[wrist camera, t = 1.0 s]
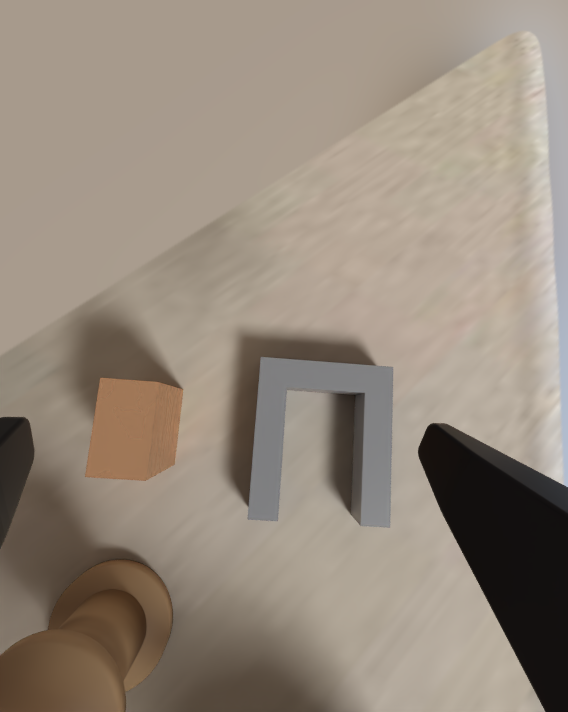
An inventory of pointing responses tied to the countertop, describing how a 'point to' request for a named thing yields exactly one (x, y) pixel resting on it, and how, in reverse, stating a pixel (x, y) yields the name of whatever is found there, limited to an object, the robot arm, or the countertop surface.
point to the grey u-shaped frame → (369, 432)
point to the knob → (91, 643)
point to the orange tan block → (134, 429)
